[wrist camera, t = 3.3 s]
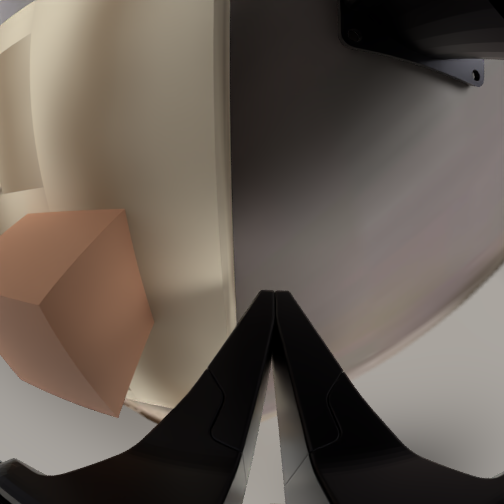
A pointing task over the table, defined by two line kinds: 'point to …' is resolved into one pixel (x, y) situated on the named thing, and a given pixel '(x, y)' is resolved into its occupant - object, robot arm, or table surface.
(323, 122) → the table surface
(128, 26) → the cream flat piece
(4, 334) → the block
